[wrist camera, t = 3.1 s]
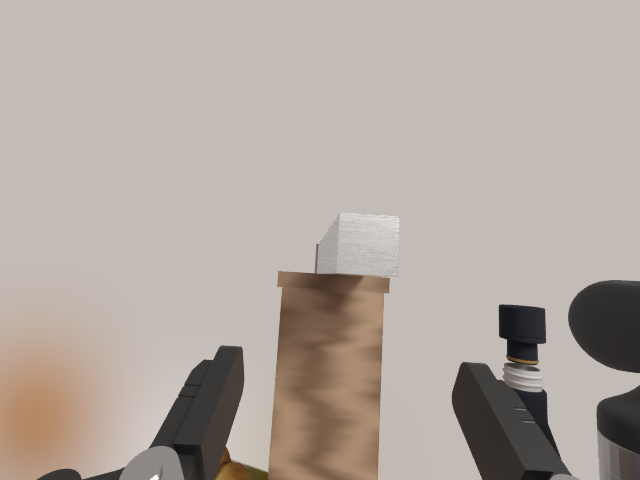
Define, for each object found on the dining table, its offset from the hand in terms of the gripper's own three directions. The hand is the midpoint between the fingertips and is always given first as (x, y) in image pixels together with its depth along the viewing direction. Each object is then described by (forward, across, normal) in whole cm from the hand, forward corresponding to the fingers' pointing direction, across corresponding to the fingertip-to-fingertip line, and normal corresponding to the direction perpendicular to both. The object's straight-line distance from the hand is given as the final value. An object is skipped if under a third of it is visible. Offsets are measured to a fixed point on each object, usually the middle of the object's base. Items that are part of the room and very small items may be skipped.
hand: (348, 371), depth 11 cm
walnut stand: (+8, 0, +37) cm, 38 cm away
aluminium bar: (+19, -1, +7) cm, 20 cm away
